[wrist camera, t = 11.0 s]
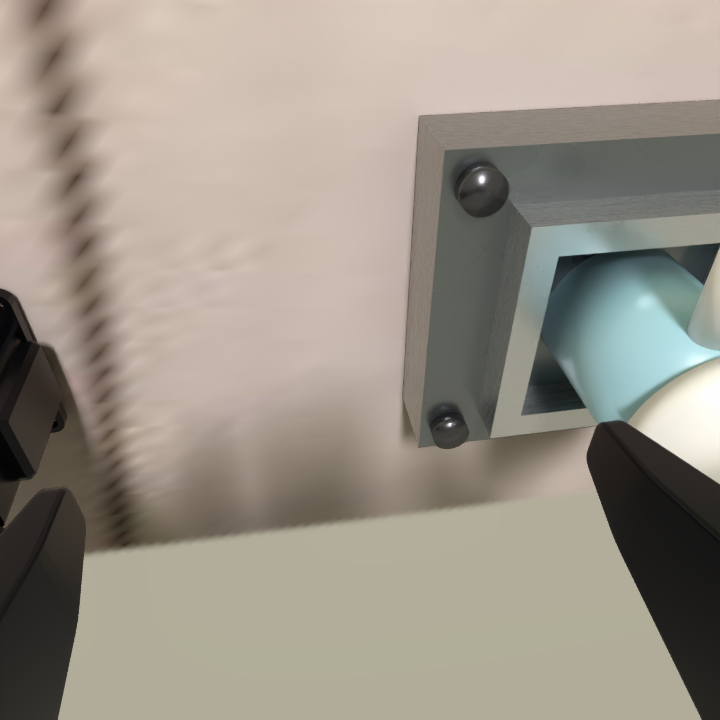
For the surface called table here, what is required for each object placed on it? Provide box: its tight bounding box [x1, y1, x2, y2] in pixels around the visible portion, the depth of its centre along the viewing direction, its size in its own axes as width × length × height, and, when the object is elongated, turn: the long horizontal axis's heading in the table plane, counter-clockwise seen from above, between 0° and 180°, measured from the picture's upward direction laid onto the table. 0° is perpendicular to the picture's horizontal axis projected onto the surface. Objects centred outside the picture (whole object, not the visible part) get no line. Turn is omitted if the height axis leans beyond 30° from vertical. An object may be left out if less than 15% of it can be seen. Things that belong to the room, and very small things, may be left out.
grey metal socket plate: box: [403, 100, 720, 449], centre depth 21 cm, size 13×12×4 cm
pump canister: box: [541, 248, 720, 484], centre depth 17 cm, size 5×8×7 cm
